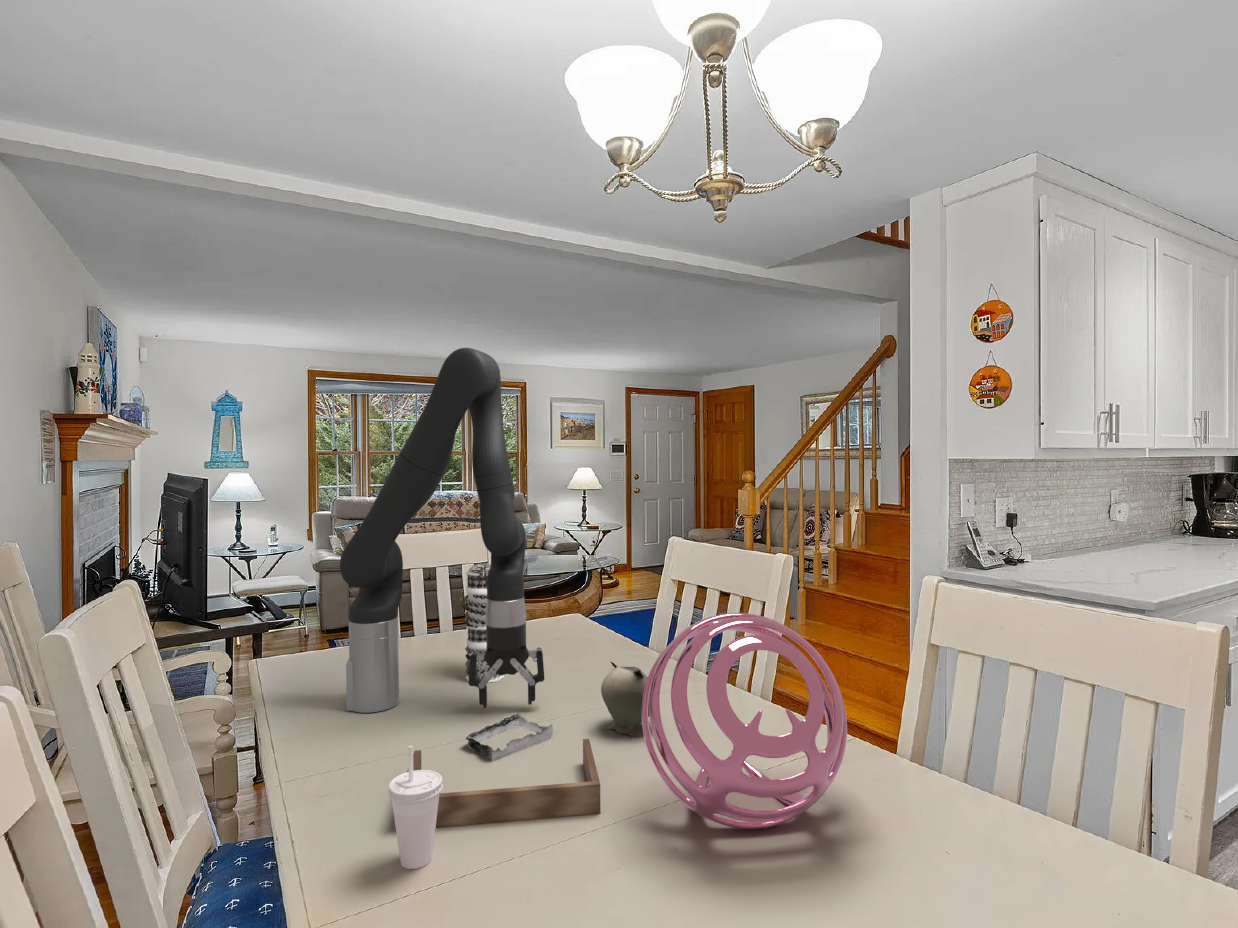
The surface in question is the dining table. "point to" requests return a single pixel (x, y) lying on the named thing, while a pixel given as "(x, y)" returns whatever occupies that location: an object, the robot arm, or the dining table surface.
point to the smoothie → (415, 813)
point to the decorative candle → (477, 617)
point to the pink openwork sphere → (745, 726)
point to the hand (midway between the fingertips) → (507, 704)
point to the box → (520, 799)
